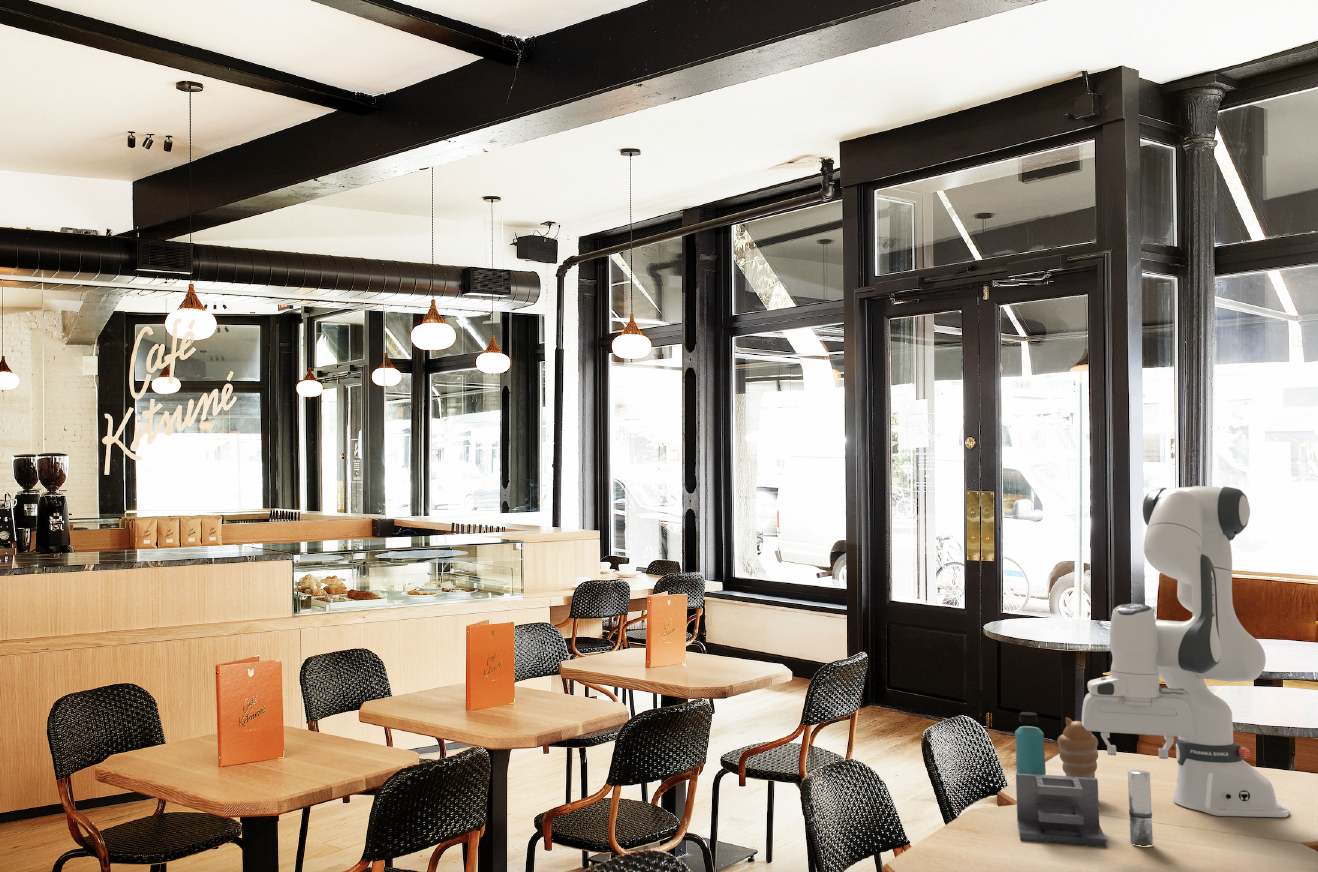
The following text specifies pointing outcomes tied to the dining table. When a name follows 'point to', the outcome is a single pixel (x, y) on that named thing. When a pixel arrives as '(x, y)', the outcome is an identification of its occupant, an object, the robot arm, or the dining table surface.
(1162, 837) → the dining table surface
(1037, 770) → the beverage bottle
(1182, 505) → the robot arm
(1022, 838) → the collar stand
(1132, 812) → the grey cylinder
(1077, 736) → the cat ice cream
